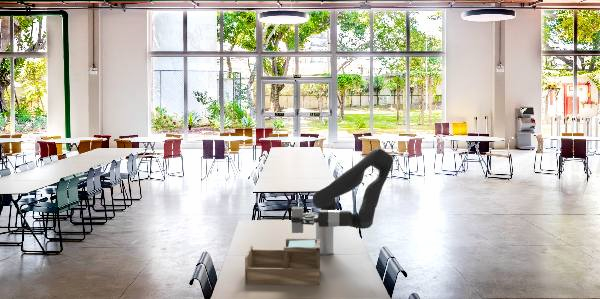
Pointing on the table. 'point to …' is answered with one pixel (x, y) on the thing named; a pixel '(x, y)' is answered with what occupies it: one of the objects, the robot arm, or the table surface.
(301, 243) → the trapdoor
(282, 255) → the trapdoor frame
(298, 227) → the granite stone
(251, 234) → the table surface
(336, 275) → the table surface
